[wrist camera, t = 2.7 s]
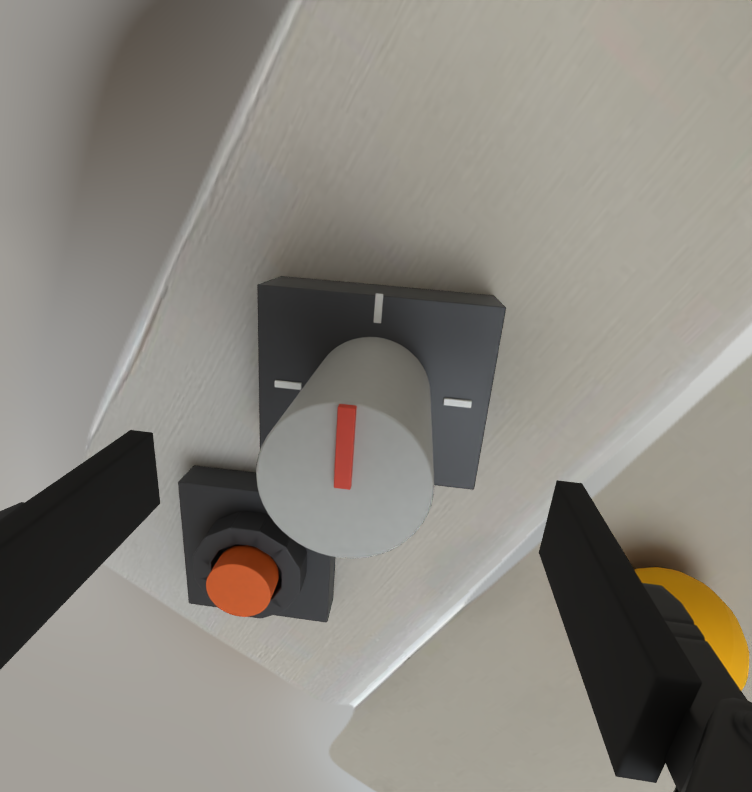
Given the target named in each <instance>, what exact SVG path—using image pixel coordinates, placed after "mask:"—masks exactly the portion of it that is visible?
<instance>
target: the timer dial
mask: <svg viewBox="0 0 752 792" xmlns="http://www.w3.org/2000/svg"><path fill="white" fill-rule="evenodd" d="M256 477H257V486H258V491H259V495H260V497H261V500H262V503H263V505H264V507H265V509H266V511H267V512H268V514H269V516H270V517H271V518H272V520H273V521H274V522H275V524H276V525H277V526H278V527H279V528H280V529H281V530H282V531H283V532H284V533H285V534H287V535H288V536H289V537H290V538H292V539H293V540H294V541H296V542H297V543H299V544H301V545H303V546H304V547H306V548H308V549H310V550H313V551H315V552H318V553H321V554H324V555H328V556H333V557H338V558H365V557H372V556H376V555H379V554H383V553H385V552H388V551H390V550H392V549H394V548H396V547H398V546H400V545H401V544H403V543H404V542H405V541H407V540H408V539H409V538H410V537H411V536H412V535H413V534H414V533H415V532H416V531H417V530H418V529H419V527H420V526H421V525H422V524H423V522H424V520H425V518H426V517H427V515H428V513H429V510H430V507H431V504H432V500H433V495H434V469H433V444H432V420H431V395H430V385H429V380H428V377H427V374H426V372H425V370H424V368H423V366H422V364H421V363H420V362H419V360H418V359H417V358H416V357H415V356H414V355H413V354H412V353H411V352H410V351H409V350H407V349H406V348H405V347H403V346H401V345H400V344H398V343H396V342H393V341H391V340H388V339H384V338H378V337H362V338H357V339H352V340H350V341H347V342H345V343H343V344H341V345H339V346H338V347H336V348H335V349H334V350H332V351H331V352H330V353H329V354H328V355H327V356H326V358H325V359H324V360H323V362H322V363H321V364H320V366H319V367H318V368H317V370H316V371H315V372H314V374H313V375H312V376H311V378H310V379H309V380H308V382H307V383H306V384H305V386H304V387H303V388H302V390H301V391H300V393H299V394H298V395H297V397H296V398H295V399H294V401H293V402H292V403H291V405H290V406H289V407H288V409H287V410H286V411H285V413H284V414H283V415H282V417H281V418H280V419H279V421H278V422H277V423H276V425H275V426H274V427H273V429H272V430H271V431H270V433H269V434H268V435H267V437H266V439H265V441H264V443H263V444H262V447H261V450H260V452H259V456H258V460H257V469H256Z"/></svg>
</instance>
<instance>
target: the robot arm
mask: <svg viewBox="0 0 752 792" xmlns="http://www.w3.org/2000/svg"><path fill="white" fill-rule="evenodd" d="M159 504H160V497H159V488H158V479H157V469H156V460H155V450H154V441H153V433H151V432H142V431H134V430H130V431H128V432H127V433H126V434H124V435H123V436H121V437H120V438H118V439H117V440H115V441H114V442H112V443H111V444H110V445H108V446H107V447H105V448H104V449H102V450H101V451H99V452H98V453H96V454H95V455H94V456H92V457H91V458H89V459H88V460H86V461H85V462H83V463H82V464H80V465H79V466H78V467H76V468H75V469H73V470H72V471H70V472H69V473H67V474H66V475H65V476H63V477H62V478H60V479H59V480H58V481H56V482H54V483H53V484H51V485H50V486H48V487H47V488H46V489H44V490H43V491H41V492H40V493H38V494H37V495H35V496H34V497H32V498H31V499H30V500H28V501H27V502H25V503H23V502H21V503H18V504H16V505H14V506H12V507H9V508H7V509H4V510H2V511H0V669H1V668H2V667H3V666H4V665H5V664H6V663H7V662H8V661H9V660H10V659H11V658H12V657H13V656H14V655H15V654H16V653H17V652H18V651H19V649H21V648H22V646H23V645H24V644H25V643H26V642H27V641H28V640H29V639H30V638H31V637H32V636H33V635H34V634H35V633H36V632H37V631H38V630H39V629H40V628H41V627H42V626H43V625H44V624H45V623H46V622H47V620H48V619H49V618H50V617H51V616H52V615H53V614H54V613H55V612H56V611H57V610H58V609H59V608H60V607H61V606H62V605H63V604H64V603H65V602H66V601H67V600H68V599H69V597H71V595H73V593H74V592H75V591H76V590H77V589H78V588H79V587H80V586H81V585H82V584H83V583H84V582H85V581H86V580H87V579H88V578H89V577H90V576H91V575H92V574H93V573H94V572H95V571H96V570H97V568H98V567H99V566H100V565H101V564H102V563H103V562H104V561H105V560H106V559H107V558H108V557H109V556H110V555H111V554H112V553H113V552H114V551H115V550H116V549H117V548H118V547H119V546H120V545H121V544H122V543H123V542H124V540H125V539H126V538H127V537H128V536H129V535H130V534H131V533H132V532H133V531H134V530H135V529H136V528H137V527H138V526H139V525H140V524H141V523H142V522H143V521H144V520H145V519H146V518H147V517H148V516H149V515H150V513H151V512H152V511H153V510H154V509H155V508H156V507H157V506H158V505H159ZM539 554H540V557H541V560H542V563H543V566H544V569H545V572H546V575H547V577H548V580H549V583H550V586H551V589H552V592H553V595H554V598H555V601H556V604H557V607H558V609H559V612H560V615H561V618H562V621H563V624H564V627H565V630H566V633H567V636H568V639H569V641H570V644H571V647H572V650H573V653H574V656H575V659H576V662H577V665H578V668H579V671H580V673H581V676H582V679H583V682H584V685H585V688H586V691H587V694H588V697H589V700H590V702H591V705H592V708H593V711H594V714H595V717H596V720H597V723H598V726H599V729H600V732H601V734H602V737H603V740H604V743H605V746H606V749H607V752H608V755H609V758H610V761H611V764H612V766H613V769H614V772H615V775H616V776H617V777H623V778H629V779H636V780H642V781H648V782H654V783H656V782H657V780H658V778H659V776H660V773H661V771H662V769H663V767H664V765H665V763H666V765H667V767H668V769H669V772H670V774H671V776H672V778H673V781H674V783H675V785H676V788H675V790H674V792H752V703H751V702H749V701H748V700H747V699H746V697H745V696H744V695H743V693H742V692H741V690H740V689H739V687H738V686H737V684H736V683H735V681H734V680H733V678H732V677H731V675H730V674H729V672H728V671H727V669H726V668H725V666H724V665H723V663H722V662H721V661H720V659H719V658H718V656H717V655H716V653H715V652H714V650H713V649H712V647H711V646H710V644H709V643H708V641H705V637H704V635H703V634H702V632H701V631H700V629H699V628H698V627H697V625H694V621H693V619H692V618H691V616H690V615H689V613H688V612H687V610H686V609H685V607H684V606H683V604H682V603H681V602H680V601H679V600H678V599H677V598H675V597H674V596H673V595H672V594H671V593H670V592H669V591H667V590H666V589H665V588H664V587H663V586H662V585H654V584H647V583H642V582H641V580H640V579H639V577H638V575H637V574H636V572H635V570H634V569H633V567H632V565H631V564H630V562H629V560H628V559H627V557H626V555H625V554H624V552H623V550H622V549H621V547H620V546H619V544H618V542H617V541H616V539H615V537H614V536H613V534H612V532H611V531H610V529H609V527H608V526H607V524H606V522H605V521H604V519H603V517H602V516H601V514H600V512H599V511H598V509H597V507H596V506H595V504H594V502H593V501H592V499H591V498H590V496H589V494H588V493H587V491H586V489H585V488H584V486H583V484H582V483H574V482H565V481H557V482H556V486H555V490H554V494H553V498H552V502H551V506H550V510H549V514H548V518H547V522H546V526H545V530H544V534H543V538H542V542H541V546H540V550H539Z"/></svg>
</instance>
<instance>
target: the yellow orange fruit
mask: <svg viewBox="0 0 752 792" xmlns="http://www.w3.org/2000/svg"><path fill="white" fill-rule="evenodd" d="M635 572H636V574H637V575H638V577H639V579H640V580H641V582H642V583H647V584H654V585H662V586H663V587H664V588H665V589H666V590H667V591H669V592H670V593H671V594H672V595H673V596H674V597H675V598H677V599H678V600H679V601H680V602H681V603H682V604H683V606H684V607H685V609H686V610H687V612H688V613H689V615H690V616H691V618H692V619H693V621H694V625H697V627H698V628H699V629H700V631H701V632H702V634H703V635H704V637H705V641H708V643H709V644H710V646H711V647H712V649H713V650H714V652H715V653H716V655H717V656H718V658H719V659H720V661H721V662H722V663H723V665H724V666H725V668H726V669H727V671H728V672H729V674H730V675H731V677H732V678H733V680H734V681H735V683H736V684H737V686H738V687H739V689H740V690H742V689H743V687H744V686H745V684H746V681H747V678H748V670H749V650H748V646H747V642H746V640H745V637H744V634H743V632H742V629H741V627H740V625H739V622H738V620H737V618H736V617H735V615H734V614H733V612H732V611H731V609H730V608H729V607H728V606H727V605H726V604H725V603H724V602H723V601H722V600H721V599H720V598H719V597H718V596H717V595H716V594H715V593H714V592H713V590H711V589H710V588H709V587H708V586H706V585H705V584H704V583H702V582H700V581H698V580H696V579H694V578H692V577H690V576H688V575H686V574H684V573H682V572H680V571H676V570H672V569H666V568H660V567H650V568H638V569H635Z"/></svg>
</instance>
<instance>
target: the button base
mask: <svg viewBox="0 0 752 792" xmlns="http://www.w3.org/2000/svg"><path fill="white" fill-rule="evenodd" d="M178 485H179V497H180V508H181V519H182V530H183V542H184V553H185V564H186V575H187V587H188V598H189V603H191V604H198V605H205V606H212V607H217V606H216V605H215V604H214V603H213V602H212V600H211V599H210V597H209V595H208V593H207V590H206V581H207V577H208V575H209V574H210V572H211V570H212V569H213V567H214V566H215V564H216V562H217V561H218V559H219V557H220V556H221V554H222V553H223V552H224V551H225V550H227V549H229V548H231V547H234V546H238V545H248V546H253V547H256V548H258V549H260V550H261V551H263V552H265V553H266V554H268V555H269V556H270V557H271V558H272V559H273V560H274V562H275V563H276V565H277V567H278V571H279V580H278V583H277V585H276V588H275V590H274V593H273V595H272V597H271V600H270V602H269V605H268V606H267V607H266V608H265V610H263V611H262V612H261V613H259V614H256V615H253V616H248V617H254V618H264V617H268V616H271V615H277V616H284V617H291V618H299V619H306V620H313V621H320V622H327V621H328V617H329V613H330V609H331V605H332V601H333V589H334V571H335V557H333V556H328V555H324V554H321V553H318V552H315V551H313V550H310V549H308V548H306V547H304V546H303V545H301V544H299V543H297V542H296V541H294V540H293V539H292V538H290V537H289V536H288V535H287V534H285V533H284V532H283V531H282V530H281V529H280V528H279V527H278V526H277V525H276V524H275V522H274V521H273V520H272V518H271V517H270V516H269V514H268V512H267V511H266V509H265V507H264V505H263V503H262V500H261V497H260V495H259V491H258V486H257V477H256V473H253V472H244V471H236V470H227V469H219V468H211V467H202V466H193V467H192V468H191V469H190V470H189V471H188V472H187V473H186V474H185V475H184V477H183V478H182V479H181V480H180V481H179V482H178Z"/></svg>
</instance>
